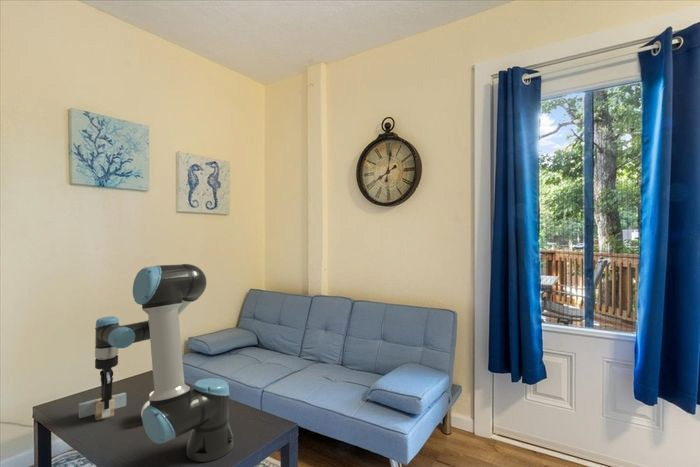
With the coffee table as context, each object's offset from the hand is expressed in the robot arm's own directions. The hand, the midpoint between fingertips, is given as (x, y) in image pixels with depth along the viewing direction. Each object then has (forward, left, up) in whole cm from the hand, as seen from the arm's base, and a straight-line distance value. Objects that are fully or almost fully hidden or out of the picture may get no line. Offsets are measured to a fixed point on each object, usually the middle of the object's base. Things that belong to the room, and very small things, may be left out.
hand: (106, 416), depth 139 cm
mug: (-13, -15, -2) cm, 20 cm away
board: (+9, 0, -2) cm, 9 cm away
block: (+5, 0, -2) cm, 5 cm away
